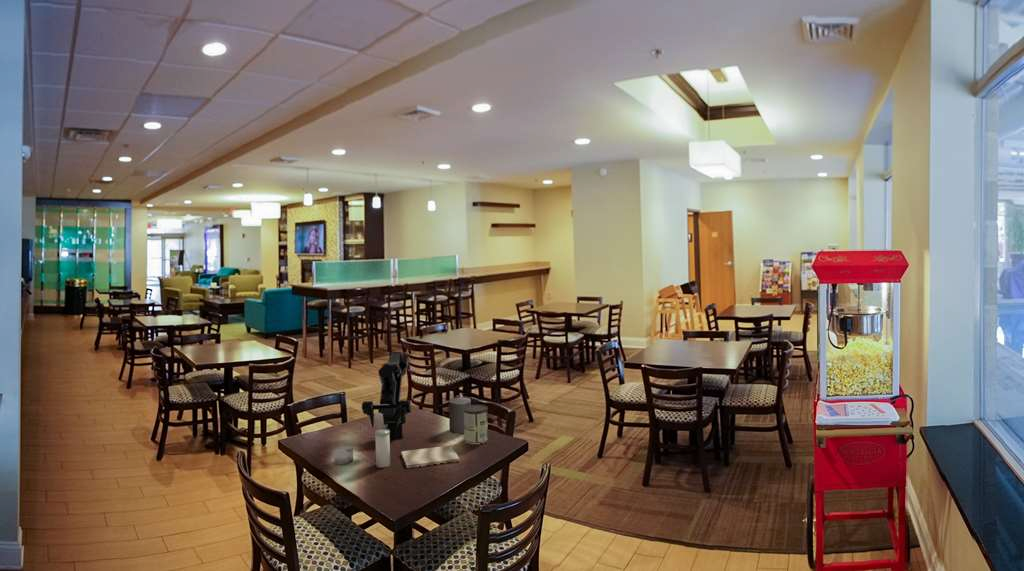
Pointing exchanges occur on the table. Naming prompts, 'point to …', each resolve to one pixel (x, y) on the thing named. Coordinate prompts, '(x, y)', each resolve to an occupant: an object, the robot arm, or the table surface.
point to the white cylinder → (382, 447)
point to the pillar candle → (457, 414)
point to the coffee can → (475, 424)
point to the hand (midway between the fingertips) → (384, 426)
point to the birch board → (429, 456)
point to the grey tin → (343, 455)
